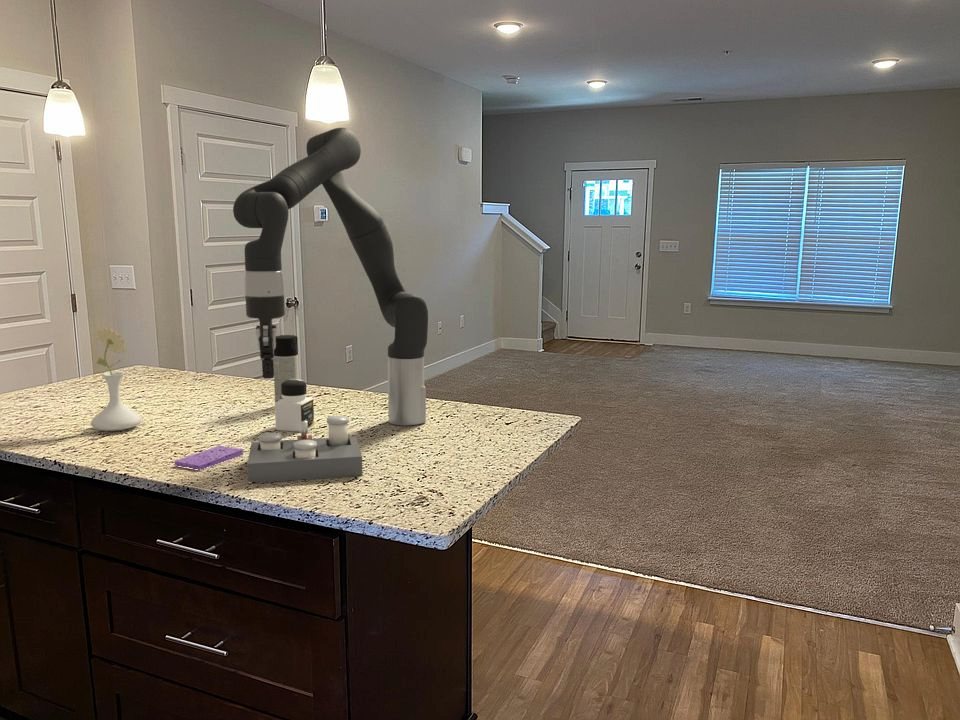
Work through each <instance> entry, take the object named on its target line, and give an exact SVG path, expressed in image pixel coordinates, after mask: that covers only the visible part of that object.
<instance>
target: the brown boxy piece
mask: <svg viewBox="0 0 960 720" xmlns="http://www.w3.org/2000/svg"><path fill="white" fill-rule="evenodd" d="M312 439H313V435H312V434H310V435H309V428H308V421H301V432H300V435H297V437H296V440H297V441H300V440H312Z"/></svg>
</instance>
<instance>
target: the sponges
mask: <svg viewBox="0 0 960 720" xmlns="http://www.w3.org/2000/svg"><path fill="white" fill-rule="evenodd" d="M243 450H244V449H243V448H238V447H231V446H224V445H216V446H214V447H210V448H209V449H206V450H203V451H200V452H197V453H193V454H190V455H188V456H184V457H182V458H178V459H175V460H174V465H175V466H183V467H189V468H193V469H198V470H200V469H204V468H206V467H209V466H212V465H215V464H217V465H219V464H218V463H220V464H222V463H221V462H223V463H225V462H224V461H226V460H228V461H230V460H229V459H231V460H233V459H232V458H234V459H236V458H235V457H237V458H239V457H241V456H240V455H242V456H244V451H243ZM238 456H239V457H238ZM226 462H227V461H226ZM215 466H216V465H215ZM212 467H213V466H212ZM204 470H205V469H204Z"/></svg>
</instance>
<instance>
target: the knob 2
mask: <svg viewBox="0 0 960 720" xmlns="http://www.w3.org/2000/svg"><path fill="white" fill-rule="evenodd" d="M349 420H350V417H348V416H347V415H332V416H328V417H326V423H327V425H328V438H329V446H342V445H348V437H349V435H348V434H349V431H348V424H349V423H350V421H349Z"/></svg>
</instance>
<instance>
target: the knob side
mask: <svg viewBox="0 0 960 720" xmlns="http://www.w3.org/2000/svg"><path fill="white" fill-rule="evenodd" d="M316 447H317V442H316V441H314V440H300V441H296V442H294V443H293V448H294V449H295V458H310V457H316V451H315V448H316Z"/></svg>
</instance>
